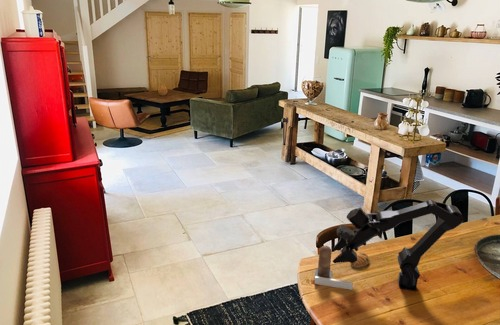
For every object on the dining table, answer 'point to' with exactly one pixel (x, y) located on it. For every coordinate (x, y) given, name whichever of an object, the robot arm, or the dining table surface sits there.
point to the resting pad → (319, 276)
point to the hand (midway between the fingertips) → (333, 255)
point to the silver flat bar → (333, 282)
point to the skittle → (324, 261)
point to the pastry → (361, 260)
